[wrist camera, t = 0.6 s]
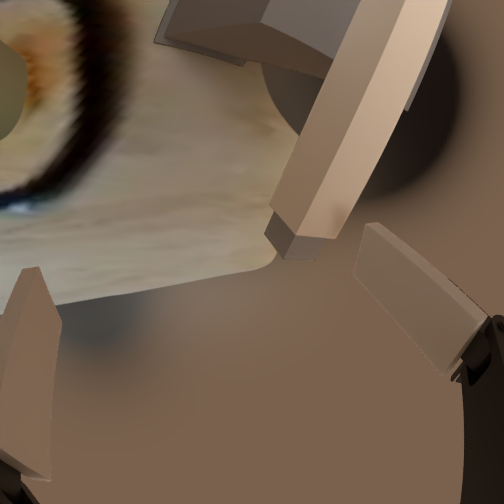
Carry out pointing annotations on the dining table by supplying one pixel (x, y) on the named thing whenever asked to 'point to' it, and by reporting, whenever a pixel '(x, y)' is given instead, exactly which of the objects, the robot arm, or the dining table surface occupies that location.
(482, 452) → the robot arm
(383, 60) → the beige square bar
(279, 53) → the stand
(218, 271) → the dining table surface
